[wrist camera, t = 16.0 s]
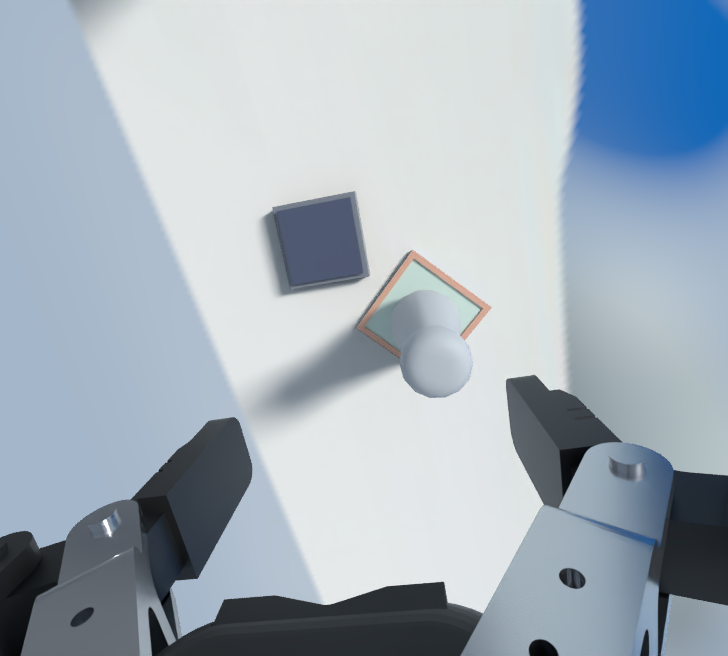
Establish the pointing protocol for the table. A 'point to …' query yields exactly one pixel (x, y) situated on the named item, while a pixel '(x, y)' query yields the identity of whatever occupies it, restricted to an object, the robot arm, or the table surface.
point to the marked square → (408, 280)
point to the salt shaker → (431, 344)
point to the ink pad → (322, 240)
